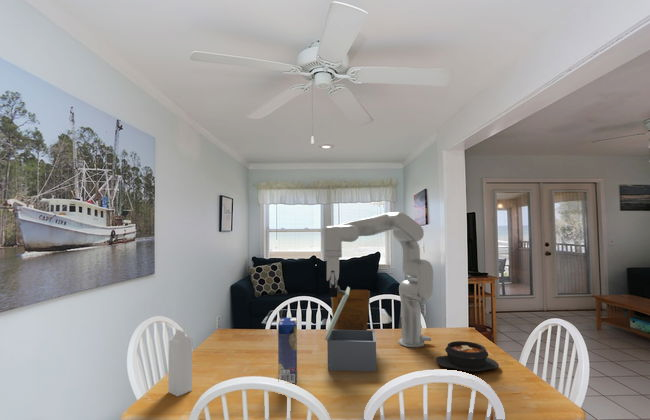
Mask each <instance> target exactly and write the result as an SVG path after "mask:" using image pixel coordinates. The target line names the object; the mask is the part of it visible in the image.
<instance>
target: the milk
mask: <svg viewBox="0 0 650 420" xmlns="http://www.w3.org/2000/svg"><path fill="white" fill-rule="evenodd" d="M167 363H168V366H167V367H168V368H167V369H168V374H167V376H168V377H167V379H168V380H167V381H168V387H167V389H168V393H169V394H172V395H174V396H175V397H177V398H178V397H179V396H182V395H184V394H187V393H189V392H191V391H193V338H192V337H189V336H186V332H185V331H184V330H180V329H175V334H173V335H172V336H171V337H170V338H169V339H168V362H167Z"/></svg>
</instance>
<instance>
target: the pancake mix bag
mask: <svg viewBox="0 0 650 420" xmlns="http://www.w3.org/2000/svg"><path fill="white" fill-rule="evenodd" d="M342 291H344V292H345V291H346V289H345V290H342ZM370 294H371V291H370V290H368V289H350V291H349V296H348V298H347V300H346V302H345V304H344V306H343V308H342V311H341V313H340V315H339V317H338V319H337V321H336V323H335V325H334V328H333V330H368V320H369V312H370V296H371V295H370ZM342 297H343V295H342V294H340V293H338V294H337V297H330V299H331V314H332V318H333V317H334V314H335V312H336V310H337V308H338V306H339V304H340V302H341V300H342Z"/></svg>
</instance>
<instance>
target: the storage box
mask: <svg viewBox="0 0 650 420" xmlns="http://www.w3.org/2000/svg"><path fill="white" fill-rule="evenodd" d="M376 340H377V339H376V331H375V330H374V329H373V330H372V329H367V330H334V329H333V330H332V332H331V334H330V336H329V338H328V340H326V342H327V344H326V346H327V371H343V372H344V371H345V372H346V371H347V372H375V373H376V372H377V341H376Z"/></svg>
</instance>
